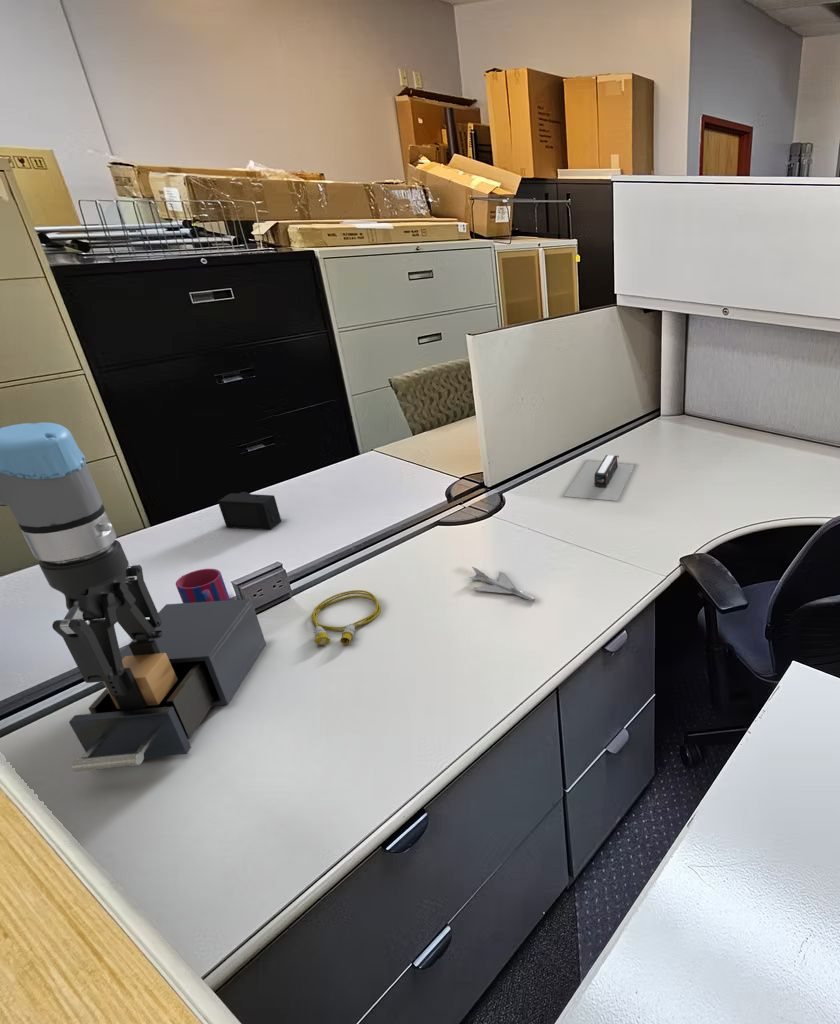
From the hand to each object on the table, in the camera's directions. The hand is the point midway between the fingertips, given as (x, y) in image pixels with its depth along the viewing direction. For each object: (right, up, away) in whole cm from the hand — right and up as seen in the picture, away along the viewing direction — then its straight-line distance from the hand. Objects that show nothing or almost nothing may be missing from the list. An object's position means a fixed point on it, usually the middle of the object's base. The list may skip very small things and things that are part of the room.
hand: (146, 692), depth 86 cm
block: (0, 0, 0) cm, 0 cm away
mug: (-13, +6, +29) cm, 32 cm away
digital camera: (-25, +22, +59) cm, 68 cm away
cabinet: (-3, -1, +14) cm, 14 cm away
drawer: (0, -7, +2) cm, 7 cm away
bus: (+52, +34, +90) cm, 109 cm away
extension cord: (+12, +5, +29) cm, 31 cm away
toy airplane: (+37, +10, +40) cm, 56 cm away
